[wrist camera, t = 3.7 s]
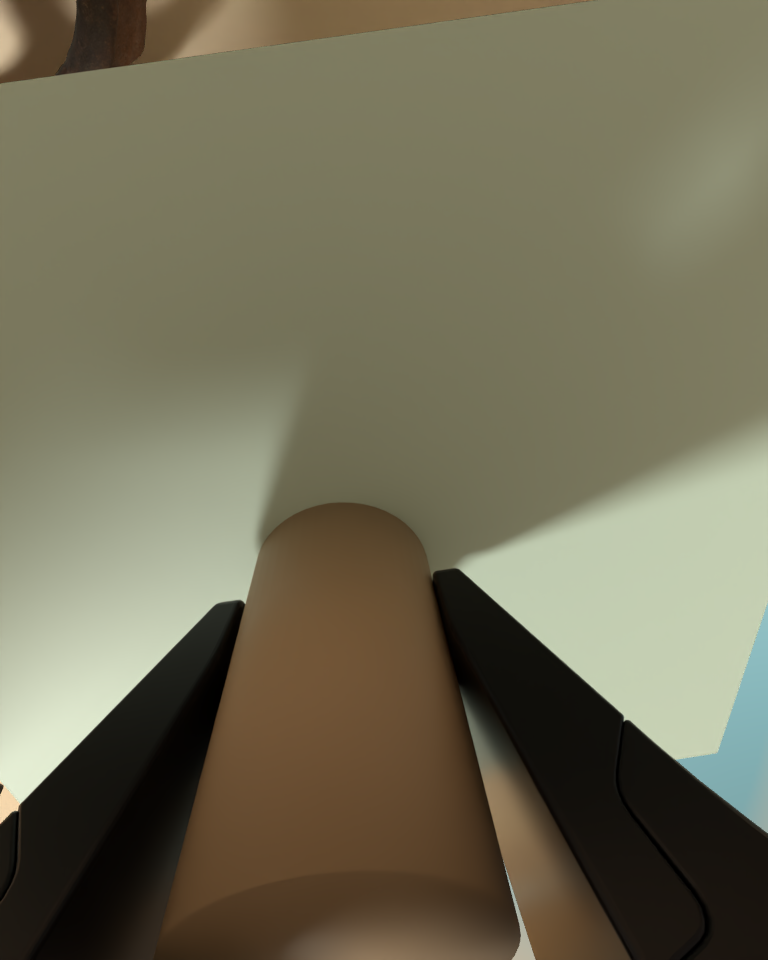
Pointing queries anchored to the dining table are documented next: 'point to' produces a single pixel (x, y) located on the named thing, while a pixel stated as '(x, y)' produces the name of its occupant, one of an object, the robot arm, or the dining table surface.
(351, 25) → the dining table surface
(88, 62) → the pottery mug
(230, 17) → the dining table surface
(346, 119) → the lid
